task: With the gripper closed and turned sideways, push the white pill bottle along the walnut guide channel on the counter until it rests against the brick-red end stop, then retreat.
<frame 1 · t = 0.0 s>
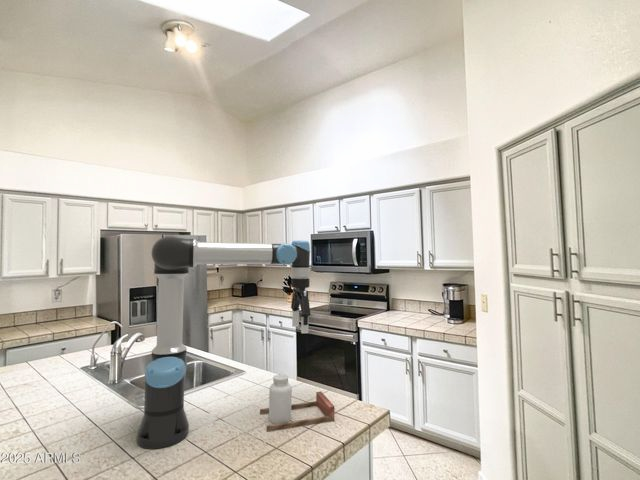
hand: (299, 329, 139), 28 cm above the counter, fingers open, 13 cm apart
pill bottle: (280, 420, 121), on the counter
guide channel: (296, 416, 123), on the counter
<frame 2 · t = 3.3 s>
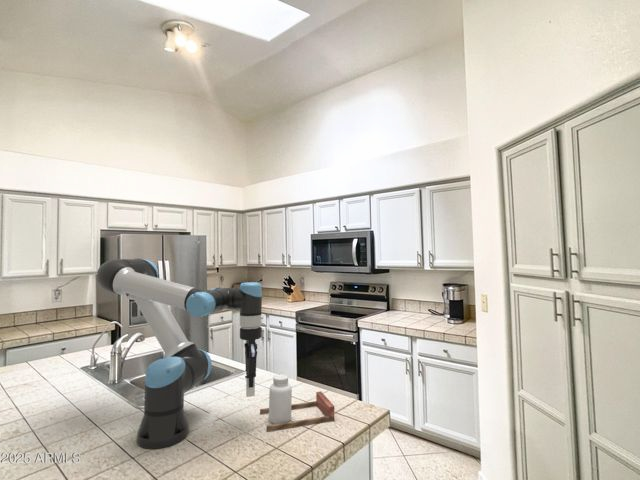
hand: (250, 395, 117), 10 cm above the counter, fingers closed
nothing on the counter moved.
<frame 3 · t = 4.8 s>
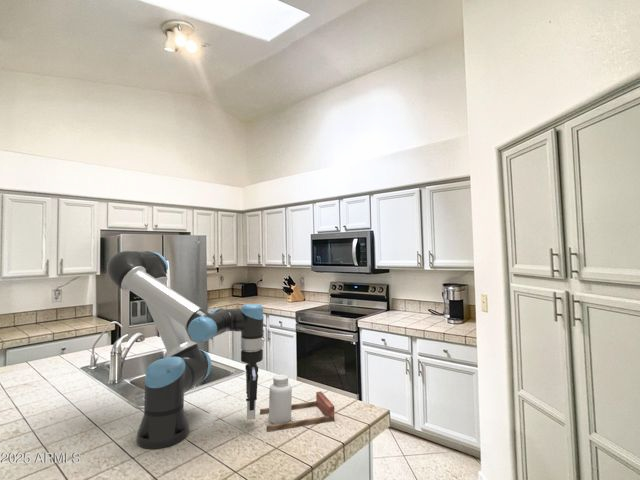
hand: (251, 418, 117), 2 cm above the counter, fingers closed
nothing on the counter moved.
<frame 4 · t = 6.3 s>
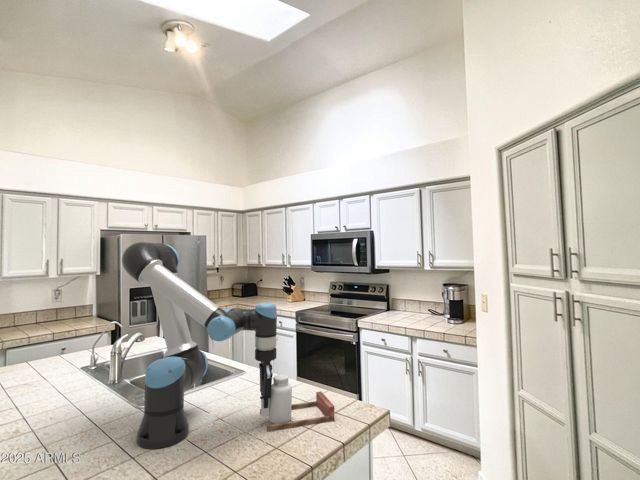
hand: (265, 415, 119), 2 cm above the counter, fingers closed
pill bottle: (280, 420, 121), on the counter, touching gripper
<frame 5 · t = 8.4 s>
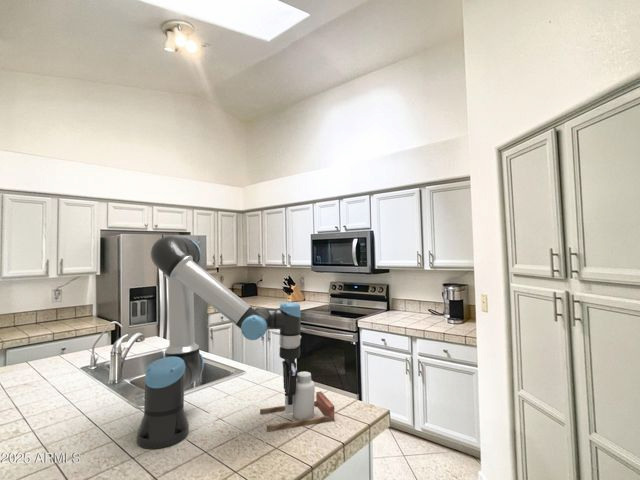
hand: (289, 412, 122), 2 cm above the counter, fingers closed
pill bottle: (303, 416, 124), on the counter, touching gripper
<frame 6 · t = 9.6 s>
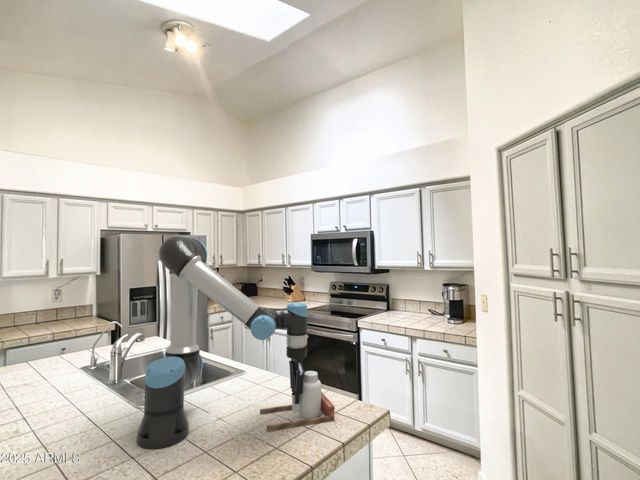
hand: (296, 411, 123), 2 cm above the counter, fingers closed
pill bottle: (310, 415, 124), on the counter, touching gripper
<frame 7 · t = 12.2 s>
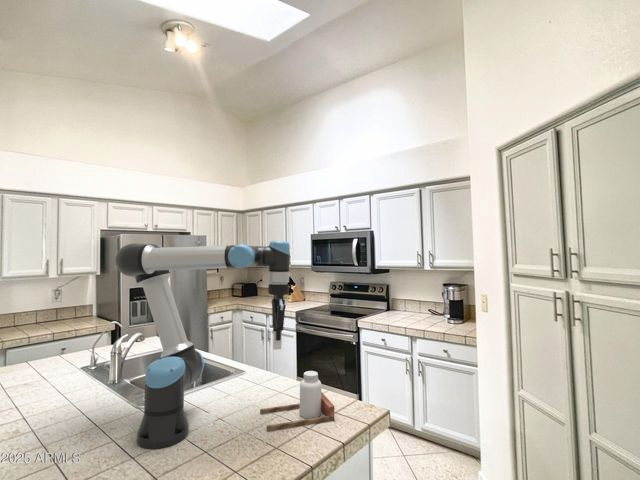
hand: (277, 348, 122), 25 cm above the counter, fingers closed
pill bottle: (310, 415, 125), on the counter
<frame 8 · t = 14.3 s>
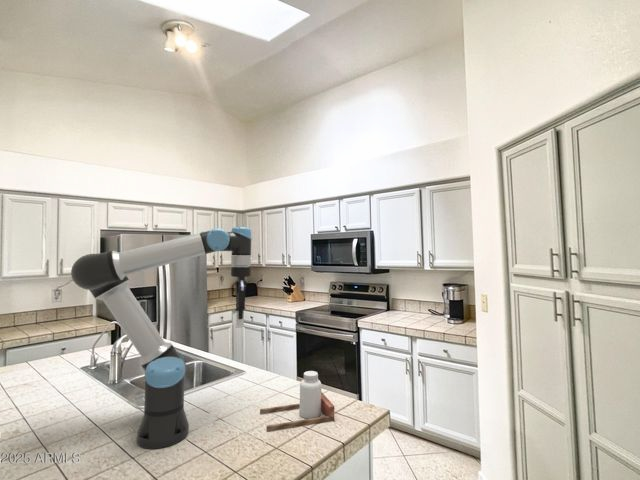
hand: (239, 327, 132), 30 cm above the counter, fingers closed
nothing on the counter moved.
at the end: pill bottle inside the target area (0.6 cm from its centre), on the counter; pill bottle tilted 0°; pill bottle moved 11.4 cm from its start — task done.
